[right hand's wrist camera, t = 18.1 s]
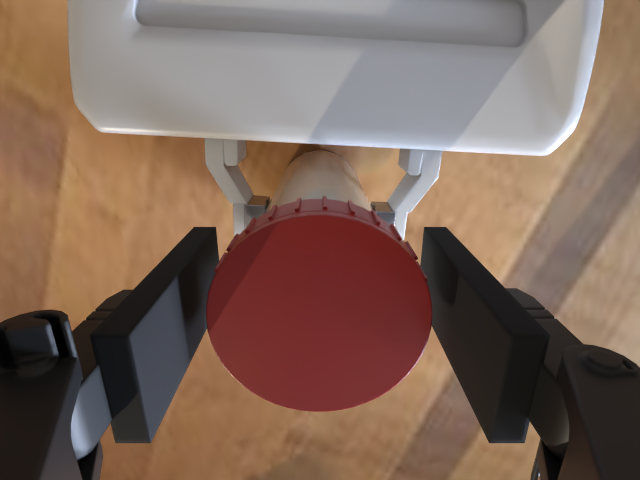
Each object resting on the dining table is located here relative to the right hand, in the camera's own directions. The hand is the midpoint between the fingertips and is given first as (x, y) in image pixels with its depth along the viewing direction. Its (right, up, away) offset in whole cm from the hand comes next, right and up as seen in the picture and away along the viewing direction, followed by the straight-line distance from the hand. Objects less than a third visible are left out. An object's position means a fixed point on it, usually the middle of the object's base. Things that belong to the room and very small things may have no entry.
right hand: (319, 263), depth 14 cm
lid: (0, -1, -3) cm, 4 cm away
